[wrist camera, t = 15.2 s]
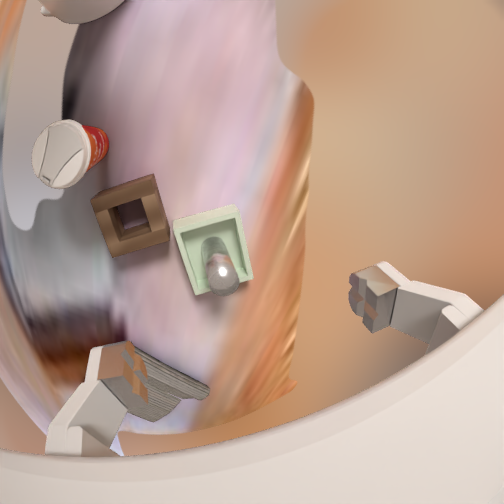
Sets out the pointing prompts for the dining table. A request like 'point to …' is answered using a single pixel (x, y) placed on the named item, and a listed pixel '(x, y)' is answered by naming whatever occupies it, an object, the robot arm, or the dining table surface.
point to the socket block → (138, 235)
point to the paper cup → (67, 152)
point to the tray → (207, 225)
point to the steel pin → (219, 267)
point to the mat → (165, 389)
